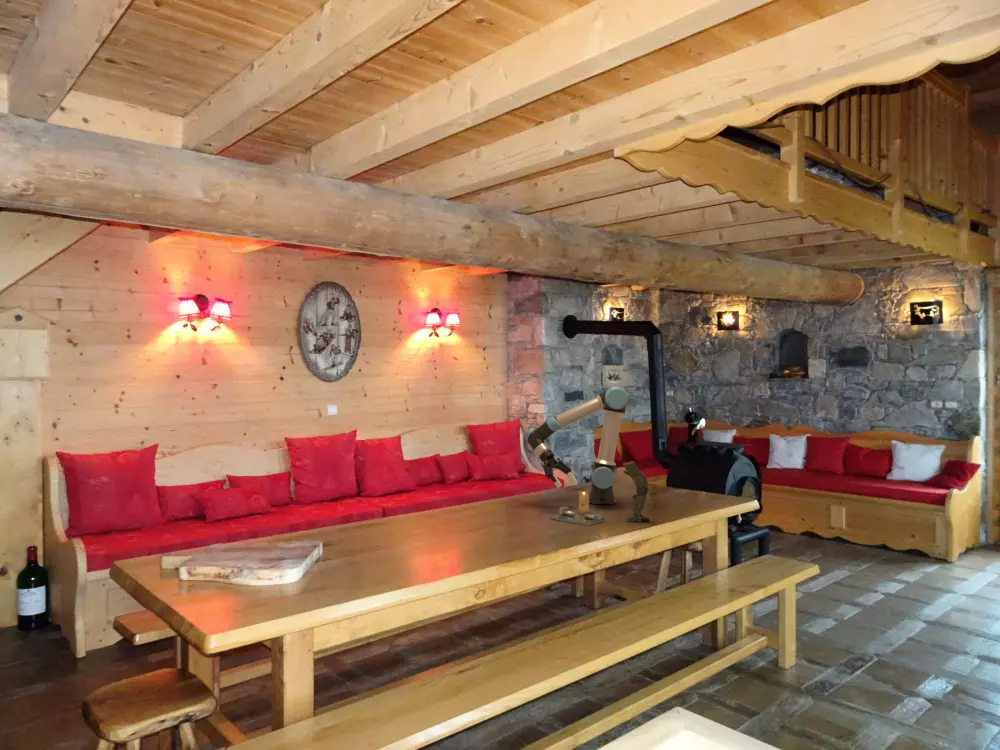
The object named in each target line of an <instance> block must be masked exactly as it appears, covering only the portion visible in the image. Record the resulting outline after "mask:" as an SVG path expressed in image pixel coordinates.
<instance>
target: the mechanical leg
mask: <svg viewBox="0 0 1000 750" xmlns="http://www.w3.org/2000/svg"><path fill="white" fill-rule="evenodd" d="M622 465H623V467H624V469H625V470H623V473H624V474H625V475H627V476H629V477H630V478H631V479H632V481H633V483H634V484H635V486H636V489H635V492H636V493H635V494H633V496H632V505H633V509H632V512H631V514H629V515H626V521H627V520H628V521H638V522H637V523H650V522H651V521H650V518H649V517H647V516H644V515H643V514H642V511H643V509H644V506H645V504H646V499H647V497H648V496H647V495H648V494H649V490H650V487H648V483H649V480H648V478H647V477H646V475H645V473H643V472H642V471H640V469H639V468H638V466H637V465H636V463H635V461H632V460H631V461H629V462H623V464H622ZM628 521H627V522H628Z"/></svg>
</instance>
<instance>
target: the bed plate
mask: <svg viewBox="0 0 1000 750" xmlns="http://www.w3.org/2000/svg"><path fill="white" fill-rule="evenodd" d="M558 513H559V514H555V515H551V516H549V520H551V519H555V520H554V521H556V520H560V521H559V522H562V521H566V522H565V523H568V522H571V523H570V524H574V523H576V524H575V525H580V524H581V526H586V525H589V526H588V527H591V526H590V525H592V526H594V525H593V524H595V525H597V524H596V523H598V524H600V523H599V522H601V523H603V522H602V521H605V522H606V521H607V520H606V518H603V517H602V511H594V512H593V513H592V514H590V513H589V514H585V515H581V514H579V513H578V514H577V513H576V511H570V507H569V506H561V507H559V512H558Z"/></svg>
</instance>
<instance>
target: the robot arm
mask: <svg viewBox="0 0 1000 750" xmlns="http://www.w3.org/2000/svg"><path fill="white" fill-rule="evenodd" d="M596 396H597V397H593V398H592V399H590V400H587V401H585V402H583V403H581V404H579V405H577V406H576V405H575V407H572V408H570V409H568V410H565V411H563V412H561V413H558V414H557V415H555V416H551V417H550V418H547V419H546V420H544V421H543V423H542V424H541V425H540V426H538V427H537V428H535V427H531V428H529V429H528V428H527V430H526V431H525V432H524V434H523V437H524V439H525V441H526V443H527V444H528V445H529V446H530V448H531V449H532V450H533V451H534V453H535V455H536V456H537V457H538V458H539V460H540V461H541V463H540V465H541V466H542V470H543V471H544V475H545V478H547V479H548V480H551V481H552V482H553V483H554V485H555V487H556V488H557V489H560V488H561V487H562V486H563V484H562V483H561V482H560V480H559V479H558V478H557V476H556V475H555V474H554V469H556V470H559V471H560V472H562V473H564V474H565V475H566V478H567V479H568V480H569V482H570V483H571V484H572V485H573V486H574V485H576V484H577V482H578V481H577V479H576V478H575V477H574V475H573V474H572V468H570V467H569V466H568V465H567V464H565V463H564V462H563V461H562V460H561V459H560V458H559V457H557V458H555V454H554V452H553V451H552V449H551V448H550V447H549V446H548V444H547V443H546V442H545V441H546V440H547V439H548V438H550V437H551V436H552V435H554V434H555V433H556V432H558V430H561V429H563V428H566V427H567V426H570V425H572V424H575V423H577V422H578V421H581V420H583V419H585V418H587V417H590V416H592V415H594V414H597V413H598V412H601V411H603V412H604V414H605V415H604V418H603V419H604V420H603V426H602V431H601V437H600V442H599V449H598V455H597V458H595V459H594V460H593V461H591V465H590V471H591V472H590V473H591V474H590V476H591V479H590V480H591V483H590V485H591V486H590V492H589V504H590V503H592V504H591V505H595V504H612V505H615V504H614V503H616V504H617V499H616V496H615V492H614V485H613V484H614V482H615V480H616V479H615V478H616V477H615V474H616V468H617V464H616V462H615V457H616V450H617V445H618V440H619V439H618V438H619V433H620V427H621V421H622V417H623V416H624V415H625V414H626V409H627V405H628V403H629V394H628V392H627V390H626V389H625V388H623V387H622V386H619V385H613V386H611V387H609V388H608V389H605V390H604V391H602V392H601V393H599V394H597V395H596Z"/></svg>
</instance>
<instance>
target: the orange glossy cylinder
mask: <svg viewBox="0 0 1000 750" xmlns="http://www.w3.org/2000/svg"><path fill="white" fill-rule="evenodd" d="M589 495H590V492H589V491H588V490H587V491H586V490H582V491H581V490H580V491H578V514H579V515H581V514H589V515H590V503H589Z"/></svg>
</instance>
